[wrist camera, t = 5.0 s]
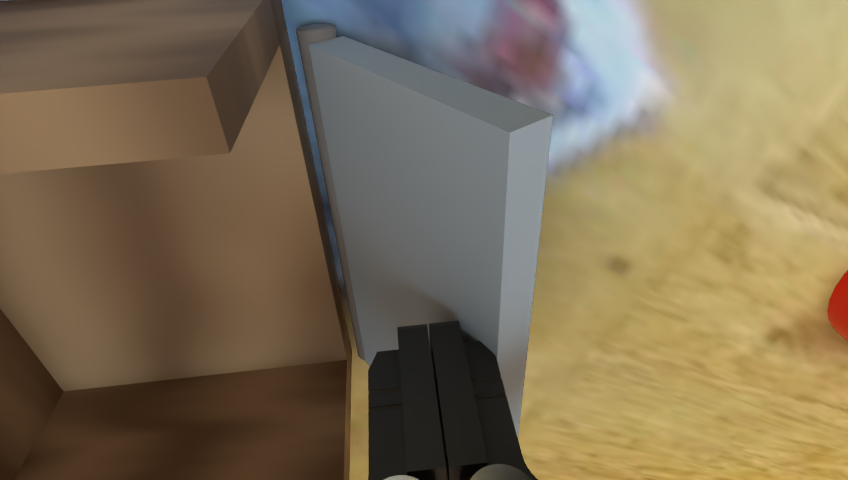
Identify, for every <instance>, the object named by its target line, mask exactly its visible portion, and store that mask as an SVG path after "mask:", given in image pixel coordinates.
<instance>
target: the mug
mask: <svg viewBox="0 0 848 480" xmlns="http://www.w3.org/2000/svg"><path fill="white" fill-rule="evenodd" d="M828 317H829V321H830V323H831V325H832V326H833V328H834V329H835V330H836V331H837V332H838V333H839V334H840V335H841V336H842V337H843V338H844V339H845V340H847V341H848V271H847V272H846V273H845V274H844V276H843V277H842V278H841V280H840V281H839V283H838V284H837V285H836V287H835V289H834V291H833V293H832V296H831V298H830V301H829V306H828Z"/></svg>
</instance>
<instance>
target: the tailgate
mask: <svg viewBox="0 0 848 480" xmlns="http://www.w3.org/2000/svg"><path fill="white" fill-rule="evenodd" d="M296 33H297V38H298V43H299V48H300V53H301V59H302V64H303V69H304V74H305V80H306V85H307V90H308V95H309V100H310V106H311V111H312V116H313V121H314V127H315V132H316V137H317V142H318V147H319V153H320V158H321V163H322V168H323V173H324V179H325V184H326V189H327V194H328V200H329V205H330V210H331V215H332V220H333V226H334V231H335V236H336V241H337V246H338V252H339V257H340V262H341V267H342V273H343V278H344V283H345V288H346V293H347V299H348V304H349V309H350V314H351V320H352V325H353V330H354V335H355V340H356V346H357V351H358V355H359V357H360V358H361V359H363V360H366V362H367V364H368V365H369V366H371V364H372V362H373V359H374V357H375V355H376V353H377V352H378V351H388V350H397V349H399V347H398V332H397V327H401V326H411V325H421V324H427V328H428V335H429V323H439V322H449V321H459V324H460V328H461V333H462V338H463V342H473V341H480V342H482V343H483V344H484V345H485V346H486V347H487V348H488V349H490V350H491V351H492V352H493V353H494V355H495V356H496V358H497V362H498V366H499V370H500V373H501V379H502V381H503V385H504V389H505V394H506V396H507V400H508V404H509V408H510V411H511V415H512V419H513V423H514V427H515V430H516V434H517V438H518V433H519V424H520V414H521V405H522V396H523V387H524V378H525V368H526V359H527V350H528V341H529V331H530V322H531V313H532V304H533V295H534V285H535V276H536V267H537V258H538V248H539V239H540V230H541V221H542V211H543V202H544V193H545V184H546V175H547V165H548V156H549V147H550V138H551V128H552V119H553V115H551V114H549V113H546V112H543V111H541V110H538V109H535V108H533V107H530V106H528V105H525V104H522V103H520V102H517V101H514V100H512V99H509V98H506V97H504V96H501V95H498V94H496V93H493V92H490V91H488V90H485V89H482V88H480V87H477V86H474V85H472V84H469V83H467V82H464V81H461V80H459V79H456V78H453V77H451V76H448V75H445V74H443V73H440V72H437V71H435V70H432V69H429V68H427V67H424V66H421V65H419V64H416V63H413V62H411V61H408V60H406V59H403V58H400V57H398V56H395V55H392V54H390V53H387V52H384V51H382V50H379V49H376V48H374V47H371V46H368V45H366V44H363V43H360V42H358V41H355V40H353V39H350V38H347V37H345V36H342V37H338V38H337V35H336V28H335V25H333V24H327V23H318V24H310V25H305V26H302V27H299V28H297V29H296ZM429 343H430V338H429Z"/></svg>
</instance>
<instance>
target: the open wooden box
mask: <svg viewBox="0 0 848 480" xmlns="http://www.w3.org/2000/svg"><path fill="white" fill-rule="evenodd" d="M351 363H352V350H351V345H350V340H349V335H348V330H347V325H346V320H345V315H344V310H343V305H342V300H341V295H340V291H339V286H338V281H337V276H336V271H335V266H334V261H333V256H332V251H331V246H330V241H329V236H328V231H327V226H326V221H325V216H324V211H323V206H322V201H321V196H320V191H319V187H318V182H317V177H316V172H315V167H314V162H313V157H312V152H311V147H310V142H309V137H308V132H307V127H306V122H305V117H304V112H303V107H302V102H301V97H300V92H299V88H298V83H297V78H296V73H295V68H294V63H293V58H292V53H291V48H290V43H289V38H288V33H287V28H286V23H285V18H284V13H283V8H282V3H281V0H8V1H0V480H349V468H350V415H351Z"/></svg>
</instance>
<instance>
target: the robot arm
mask: <svg viewBox="0 0 848 480" xmlns="http://www.w3.org/2000/svg"><path fill="white" fill-rule="evenodd" d="M397 332H398V347H399V349H397V350H388V351H378V352H377V353H376V355H375V357H374V359H373V362H372V364H371V366H370V368H369V370H368V391H369V477H368V480H538V479H536V477H535V476H534V475H533V474H532V473H531V472H530V470H529V469H528V468H527V466H526V464H525V462H524V459H523V456H522V453H521V449H520V446H519V442H518V438H517V434H516V430H515V427H514V423H513V419H512V415H511V411H510V408H509V404H508V400H507V396H506V394H505V389H504V385H503V381H502V379H501V373H500V370H499V366H498V362H497V358H496V356H495V355H494V353H493V352H492V351H491V350H490V349H488V348H487V347H486V346H485V345H484V344H483V343H482V342H480V341H473V342H463V338H462V333H461V328H460V324H459V321H449V322H439V323H429V335H428V328H427V324H421V325H411V326H401V327H397ZM429 338H430V343H429Z"/></svg>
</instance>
